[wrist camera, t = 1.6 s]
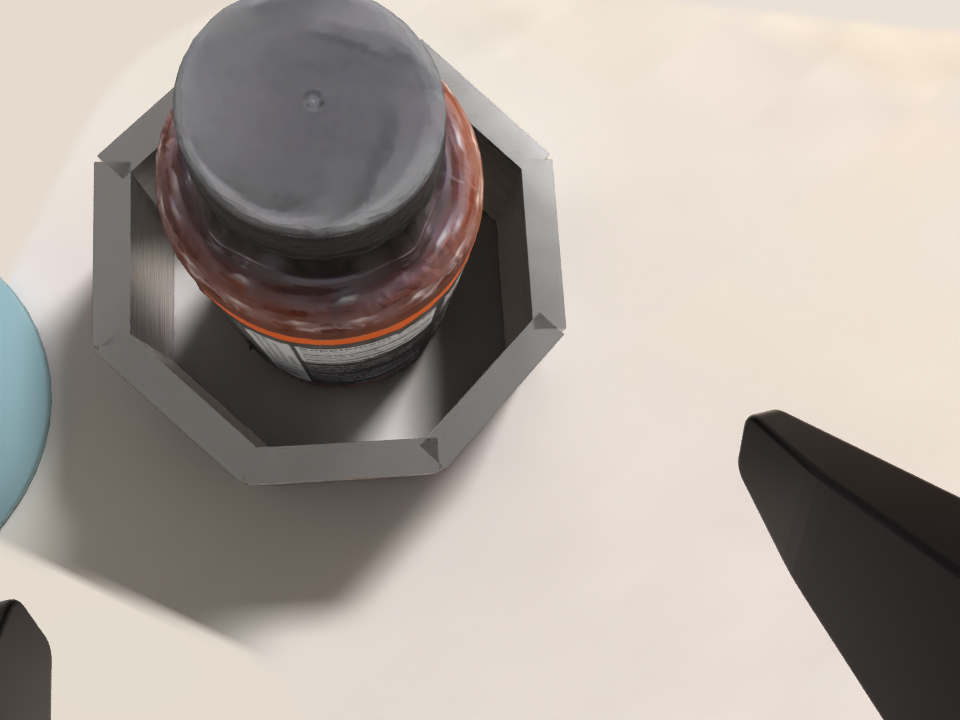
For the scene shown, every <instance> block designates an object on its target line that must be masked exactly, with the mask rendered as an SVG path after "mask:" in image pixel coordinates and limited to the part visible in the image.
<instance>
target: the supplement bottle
mask: <svg viewBox="0 0 960 720" xmlns="http://www.w3.org/2000/svg"><path fill="white" fill-rule="evenodd" d="M155 181H156V196H157V201H158V208H159V212H160V216H161V220H162V224H163V229H164V231H165V233H166V235H167V237H168V239H169V242H170V244H171V246H172V248H173V250H174V251H175V252H176V254H177V257H178V259H179V260H180V261H181V263H182V265H183V266H184V267H185V269H186V270H187V272H188V273H189V274H190V275H191V277H192V278H193V279H194V280H195V281H196V283H197V285H198V287H199V289H200V290H201V291H202V292H203V293H204V294H205V295H207V296H208V297H209V298H210V299H211V300H212V302H213V303H214V304H215V305H216V307H217V308H218V309H219V311H220V312H221V313H223V314H224V315H225V316H226V317H227V318H228V319H229V321H230V322H231V324H232V325H234V327H235V328H236V329H237V330H239V331H240V333H241V335H242V336H244V338H245V339H246V341H247V342H248V344H249V348H250V350H251V351H252V347H253V348H254V349H255V350H256V351H257V352H258V353H259V354H260V355H261V356H262V357H263V358H265V359H266V360H267V361H269V362H271V363H272V364H274V365H275V366H276V367H278V368H280V369H281V370H283V371H284V372H286V373H287V374H289V375H291V376H293V377H296V378H298V379H300V380H302V381H306V382H310V383H312V384H315V385H321V386H326V387H342V388H344V387H353V386H361V385H365V384H370V383H374V382H376V381H379V380H381V379H383V378H386V377H388V376H390V375H392V374H394V373H395V372H397V371H399V370H400V369H402V368H403V367H404V366H406V365H407V364H408V363H410V362H412V361H413V360H414V359H415V358H416V357H417V356H418V355H419V353H420V352H421V351H422V350H423V349H424V348H425V346H426V345H427V343H428V342H429V341H430V340H431V338H432V337H433V336H434V334H435V332H436V331H437V329H438V327H439V325H440V323H441V320H442V318H443V316H444V314H445V312H446V309H447V307H448V304H449V302H450V300H451V297H452V295H453V293H454V291H455V289H456V287H457V284H458V281H459V279H460V276H461V274H462V272H463V269H464V267H465V265H466V263H467V261H468V258H469V255H470V252H471V249H472V247H473V244H474V242H475V239H476V236H477V233H478V229H479V226H480V221H481V216H482V207H483V191H484V178H483V168H482V159H481V154H480V150H479V147H478V144H477V140H476V136H475V133H474V130H473V128H472V126H471V124H470V121H469V119H468V117H467V115H466V114H465V112H464V110H463V108H462V107H461V105H460V104H459V102H458V100H457V99H456V97H455V96H454V94H453V93H452V92H451V90H450V89H449V88H448V86H447V85H446V84H445V83H444V82H443V81H442V79H441V78H440V75H439V72H438V70H437V67H436V65H435V63H434V61H433V59H432V57H431V55H430V53H429V52H428V51H427V49H426V48H425V46H424V45H423V43H422V42H421V40H420V39H419V38H418V37H417V36H416V35H415V33H414V32H413V31H412V30H411V29H410V27H409V26H408V25H407V24H406V23H405V22H403V21H402V20H401V19H400V18H398V17H396V15H395V14H393V13H392V12H391V11H389V10H388V9H386V8H384V7H383V6H381V5H380V4H378V3H377V2H375V1H372V0H239V1H237V2H235V3H233V4H231V5H229V6H227V7H226V8H224V9H222V10H221V11H220V12H219V13H218V14H216V15H215V16H214V17H213V18H212V19H211V20H210V21H209V22H208V23H207V24H206V26H205V27H204V28H203V29H202V30H201V31H200V32H199V34H198V35H197V36H196V37H195V38H194V39H193V41H192V43H191V45H190V47H189V49H188V50H187V52H186V54H185V55H184V57H183V60H182V62H181V65H180V67H179V70H178V74H177V78H176V82H175V85H174V94H173V107H172V108H171V110H170V113H169V115H168V116H167V119H166V121H165V123H164V125H163V129H162V131H161V133H160V141H159V145H158V149H157V153H156V173H155ZM251 345H252V346H251Z"/></svg>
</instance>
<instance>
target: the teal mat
mask: <svg viewBox="0 0 960 720" xmlns="http://www.w3.org/2000/svg"><path fill="white" fill-rule="evenodd" d="M51 402H52V399H51V380H50V372H49V367H48V362H47V357H46V353H45V350H44V347H43V344H42V341H41V338H40V336H39V333H38V330H37V328H36V326H35V325H34V323H33V321H32V319H31V317H30V315H29V313H28V311H27V309H26V308H25V307H24V305H23V304H22V303H21V301H20V300H19V298H18V297H17V296H16V294H15V293H14V292H13V290H12V289H11V288H10V287H9V286H8V285H7V284H6V283H5V282H4V281H3V280H2V279H1V278H0V527H1V526H2V525H3V524H4V523H5V521H6V520H7V519H8V517H9V516H10V515H11V513H12V512H13V510H14V509H15V507H16V506H17V505H18V503H19V502H20V500H21V499H22V497H23V496H24V494H25V492H26V490H27V488H28V486H29V484H30V482H31V480H32V478H33V477H34V475H35V472H36V469H37V467H38V464H39V461H40V459H41V456H42V453H43V451H44V447H45V442H46V438H47V434H48V429H49V424H50V413H51Z"/></svg>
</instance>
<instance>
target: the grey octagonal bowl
mask: <svg viewBox="0 0 960 720" xmlns="http://www.w3.org/2000/svg"><path fill="white" fill-rule="evenodd" d="M421 42H422V43H423V45H424V46H425V48H426V49H427V51H428V52H429V53H430V55H431V57H432V59H433V61H434V63H435V65H436V67H437V70H438V72H439V75H440V78H441V79H442V81H443V82H444V83H445V84H446V85H447V86H448V88H449V89H450V90H451V92H452V93H453V94H454V96H455V97H456V99H457V100H458V102H459V104H460V105H461V107H462V108H463V110H464V112H465V114H466V115H467V117H468V119H469V121H470V124H471V126H472V128H473V130H474V133H475V136H476V140H477V144H478V147H479V150H480V154H481V159H482V168H483V178H484V191H483V207H482V209H483V210H484V211H485V212H486V213H487V214H488V215H489V216H490V217H492V218H493V219H494V220H495V221H496V222H497V234H498V248H499V262H500V277H501V291H502V305H503V320H504V334H505V349H504V350H503V352H502V353H501V354H500V355H499V356H498V357H497V358H496V359H495V361H494V362H493V363H492V364H491V365H490V366H489V367H488V368H487V369H486V371H485V372H484V373H483V374H482V375H481V376H480V377H479V378H478V380H477V381H476V382H475V383H474V384H473V385H472V386H471V387H470V388H469V390H468V391H467V392H466V393H465V394H464V395H463V396H462V397H461V399H460V400H459V401H458V402H457V403H456V404H455V405H454V406H453V407H452V409H451V410H450V411H449V412H448V413H447V414H446V415H445V416H444V418H443V419H442V420H441V421H440V422H439V423H438V424H437V425H436V426H435V428H434V429H433V430H432V431H431V432H430V433H429V434H428V435H427V437H426V438H419V439H401V440H383V441H365V442H347V443H329V444H311V445H294V446H276V447H268V446H267V445H266V444H265V443H264V442H263V441H262V440H261V439H259V438H258V437H257V436H256V435H255V434H254V433H253V432H252V431H251V430H249V429H248V428H247V427H246V426H245V425H244V424H243V423H242V422H241V421H239V420H238V419H237V418H236V417H235V416H234V415H233V414H232V413H231V412H229V411H228V410H227V409H226V408H225V407H224V406H223V405H222V404H221V403H219V402H218V401H217V400H216V399H215V398H214V397H213V396H212V395H211V394H209V393H208V392H207V391H206V390H205V389H204V388H203V387H202V386H201V385H199V384H198V383H197V382H196V381H195V380H194V379H193V378H192V377H191V376H190V375H188V374H187V373H186V372H185V371H184V370H183V369H182V368H181V367H180V366H178V365H177V364H176V363H175V362H174V250H173V248H172V246H171V244H170V242H169V239H168V237H167V235H166V233H165V231H164V229H163V224H162V220H161V216H160V212H159V208H158V201H157V196H156V181H155V173H156V153H157V149H158V145H159V141H160V133H161V131H162V129H163V125H164V123H165V121H166V119H167V116H168V115H169V113H170V110H171V108H172V107H173V94H174V88H173V89H172V90H170V91H169V92H168V93H167V94H166V95H165V96H164V97H163V98H161V99H160V100H159V101H158V102H157V103H156V104H155V105H154V106H152V107H151V108H150V109H149V110H148V111H147V112H146V113H145V114H143V115H142V116H141V117H140V118H139V119H138V120H137V121H136V122H135V123H133V124H132V125H131V126H130V127H129V128H128V129H127V130H126V131H124V132H123V133H122V134H121V135H120V136H119V137H118V138H117V139H115V140H114V141H113V142H112V143H111V144H110V145H109V146H108V147H106V148H105V149H104V150H103V151H102V152H101V153H100V154H99V155H98V158H99V159H100V160H101V161H102V162H94V221H93V310H92V346H93V347H95V348H97V349H98V350H97V351H96V352H95V353H96V354H97V355H99V356H100V357H101V358H102V359H103V360H104V361H105V362H106V363H107V364H109V365H110V366H111V367H112V368H113V369H114V370H115V371H116V372H117V373H119V374H120V375H121V376H122V377H123V378H124V379H125V380H126V381H127V382H128V383H130V384H131V385H132V386H133V387H134V388H135V389H136V390H137V391H138V392H140V393H141V394H142V395H143V396H144V397H145V398H146V399H147V400H148V401H150V402H151V403H152V404H153V405H154V406H155V407H156V408H157V409H158V410H160V411H161V412H162V413H163V414H164V415H165V416H166V417H167V418H168V419H170V420H171V421H172V422H173V423H174V424H175V425H176V426H177V427H178V428H180V429H181V430H182V431H183V432H184V433H185V434H186V435H187V436H188V437H190V438H191V439H192V440H193V441H194V442H195V443H196V444H197V445H198V446H199V447H201V448H202V449H203V450H204V451H205V452H206V453H207V454H208V455H209V456H211V457H212V458H213V459H214V460H215V461H216V462H217V463H218V464H219V465H221V466H222V467H223V468H224V469H225V470H226V471H227V472H228V473H229V474H231V475H232V476H233V477H234V478H235V479H236V480H237V481H238V482H246V484H247V485H279V484H295V483H311V482H327V481H343V480H358V479H374V478H390V477H406V476H422V475H430V474H435V473H439V471H441V470H445V469H446V468H447V467H448V466H449V465H450V464H451V463H452V461H453V460H454V459H455V458H456V457H457V456H458V455H459V454H460V452H461V451H462V450H463V449H464V448H465V447H466V446H467V444H468V443H469V442H470V441H471V440H472V439H473V438H474V436H475V435H476V434H477V433H478V432H479V431H480V430H481V428H482V427H483V426H484V425H485V424H486V423H487V422H488V420H489V419H490V418H491V417H492V416H493V415H494V414H495V413H496V411H497V410H498V409H499V408H500V407H501V406H502V405H503V403H504V402H505V401H506V400H507V399H508V398H509V397H510V395H511V394H512V393H513V392H514V391H515V390H516V389H517V387H518V386H519V385H520V384H521V383H522V382H523V381H524V379H525V378H526V377H527V376H528V375H529V374H530V373H531V371H532V370H533V369H534V368H535V367H536V366H537V365H538V364H539V362H540V361H541V360H542V359H543V358H544V357H545V356H546V354H547V353H548V352H549V351H550V350H551V349H552V348H553V346H554V345H555V344H556V343H557V342H558V341H559V340H560V338H561V337H562V336H563V335H564V334H563V333H562V331H563V330H565V329H566V320H565V308H564V296H563V283H562V271H561V259H560V247H559V235H558V222H557V210H556V198H555V186H554V173H553V161H552V159H547V157H548V155H549V153H548V152H547V151H546V150H545V149H544V148H543V147H541V146H540V145H539V144H538V143H537V142H536V141H535V140H534V139H533V138H531V137H530V136H529V135H528V134H527V133H526V132H525V131H524V130H522V129H521V128H520V127H519V126H518V125H517V124H516V123H515V122H514V121H512V120H511V119H510V118H509V117H508V116H507V115H506V114H505V113H503V112H502V111H501V110H500V109H499V108H498V107H497V106H496V105H495V104H493V103H492V102H491V101H490V100H489V99H488V98H487V97H486V96H484V95H483V94H482V93H481V92H480V91H479V90H478V89H477V88H476V87H474V86H473V85H472V84H471V83H470V82H469V81H468V80H467V79H465V78H464V77H463V76H462V75H461V74H460V73H459V72H458V71H456V70H455V69H454V68H453V67H452V66H451V65H450V64H449V63H448V62H446V61H445V60H444V59H443V58H442V57H441V56H440V55H439V54H437V53H436V52H435V51H434V50H433V49H432V48H431V47H430V46H429V45H427V44H426V43H425V42H424V41H423V40H422V39H421Z"/></svg>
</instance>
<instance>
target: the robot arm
mask: <svg viewBox="0 0 960 720" xmlns="http://www.w3.org/2000/svg"><path fill="white" fill-rule="evenodd" d="M738 465H739V471H740V474H741V477H742V479H743V481H744V483H745V485H746V487H747V489H748V491H749V493H750V495H751V497H752V499H753V501H754V503H755V505H756V507H757V509H758V511H759V513H760V515H761V517H762V519H763V521H764V523H765V525H766V527H767V529H768V531H769V533H770V535H771V537H772V539H773V541H774V543H775V545H776V547H777V549H778V551H779V553H780V555H781V557H782V559H783V561H784V563H785V565H786V567H787V569H788V571H789V572H790V574H791V576H792V578H793V579H794V581H795V583H796V584H797V586H798V588H799V589H800V591H801V592H802V594H803V596H804V597H805V599H806V600H807V602H808V603H809V605H810V606H811V608H812V610H813V611H814V613H815V614H816V616H817V617H818V619H819V620H820V622H821V624H822V625H823V627H824V628H825V630H826V631H827V633H828V634H829V636H830V638H831V639H832V641H833V642H834V644H835V645H836V647H837V648H838V650H839V652H840V653H841V655H842V656H843V658H844V659H845V661H846V662H847V664H848V666H849V667H850V669H851V670H852V672H853V673H854V675H855V676H856V678H857V679H858V681H859V683H860V684H861V686H862V687H863V689H864V690H865V692H866V693H867V695H868V697H869V698H870V700H871V701H872V703H873V704H874V706H875V707H876V709H877V711H878V712H879V714H880V715H881V717H882V718H883V720H960V497H958V496H956V495H954V494H952V493H950V492H947V491H945V490H943V489H941V488H939V487H937V486H935V485H933V484H931V483H929V482H927V481H925V480H923V479H921V478H919V477H917V476H915V475H913V474H911V473H909V472H906V471H904V470H902V469H900V468H898V467H896V466H894V465H892V464H890V463H888V462H886V461H884V460H882V459H880V458H878V457H876V456H874V455H872V454H870V453H868V452H865V451H863V450H861V449H859V448H857V447H855V446H853V445H851V444H849V443H847V442H845V441H843V440H841V439H839V438H837V437H835V436H833V435H831V434H829V433H827V432H824V431H822V430H820V429H818V428H816V427H814V426H812V425H810V424H808V423H806V422H804V421H802V420H800V419H798V418H796V417H794V416H792V415H790V414H788V413H786V412H783V411H780V410H770V411H766V412H762V413H758V414H754V415H751V416H749V417H748V419H747V420H746V421H745V425H744V430H743V436H742V441H741V447H740V453H739V458H738ZM51 659H52V658H51V650H50V646H49V643H48V641H47V639H46V637H45V636H44V634H43V633H42V631H41V630H40V628H39V627H38V626H37V624H36V623H35V621H34V620H33V618H32V617H31V616H30V614H29V613H28V611H27V610H26V608H25V607H24V606H23V605H22V604H21V602H19V601H17V600H14V599H13V600H5V601H2V602H0V720H51V668H52V663H51V662H52V660H51Z"/></svg>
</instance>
